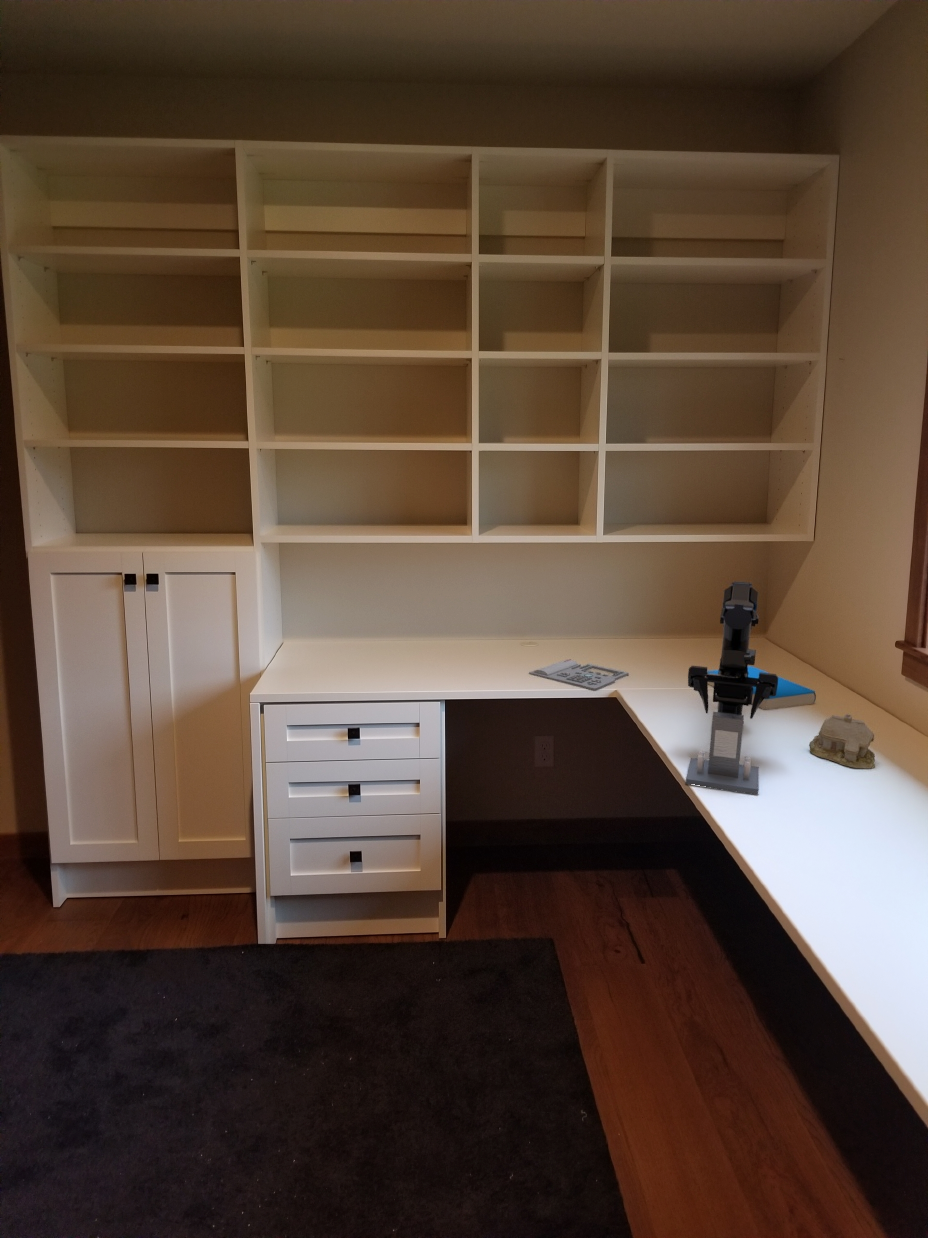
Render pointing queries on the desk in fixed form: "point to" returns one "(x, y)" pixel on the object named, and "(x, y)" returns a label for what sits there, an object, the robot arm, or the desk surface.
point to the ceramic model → (844, 742)
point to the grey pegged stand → (743, 783)
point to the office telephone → (579, 674)
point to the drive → (725, 744)
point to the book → (781, 692)
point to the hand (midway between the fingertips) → (728, 715)
